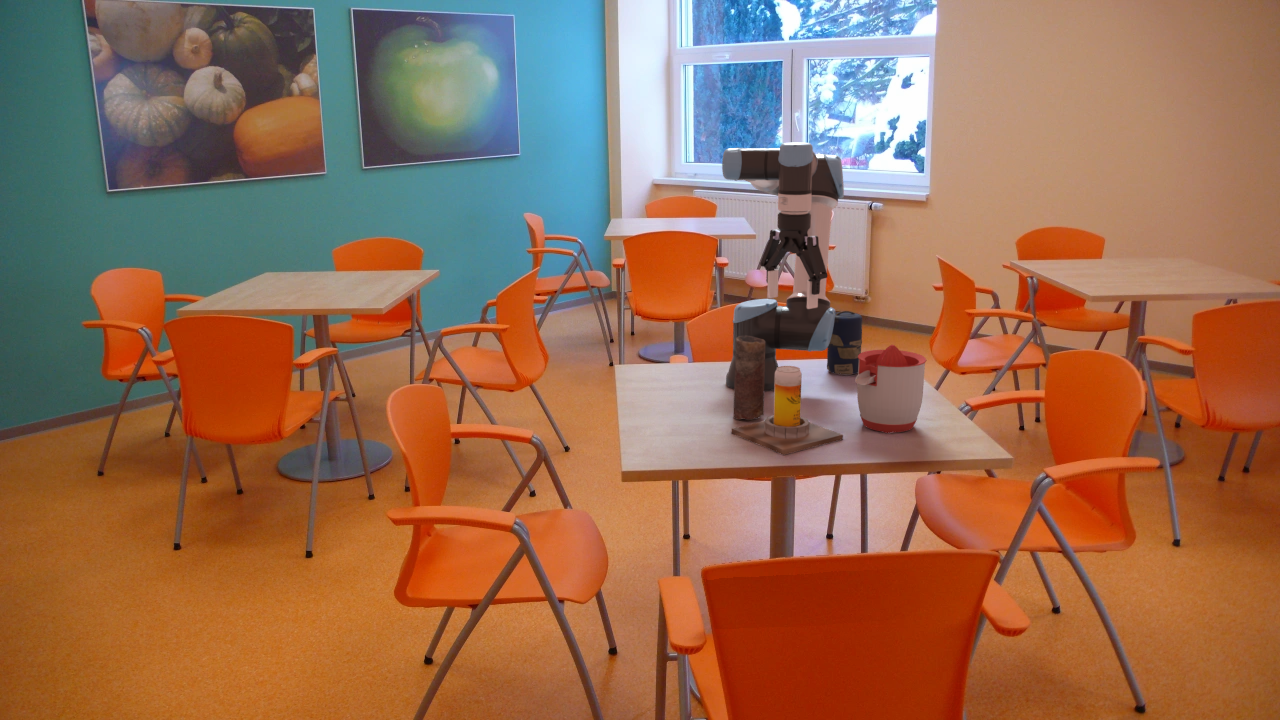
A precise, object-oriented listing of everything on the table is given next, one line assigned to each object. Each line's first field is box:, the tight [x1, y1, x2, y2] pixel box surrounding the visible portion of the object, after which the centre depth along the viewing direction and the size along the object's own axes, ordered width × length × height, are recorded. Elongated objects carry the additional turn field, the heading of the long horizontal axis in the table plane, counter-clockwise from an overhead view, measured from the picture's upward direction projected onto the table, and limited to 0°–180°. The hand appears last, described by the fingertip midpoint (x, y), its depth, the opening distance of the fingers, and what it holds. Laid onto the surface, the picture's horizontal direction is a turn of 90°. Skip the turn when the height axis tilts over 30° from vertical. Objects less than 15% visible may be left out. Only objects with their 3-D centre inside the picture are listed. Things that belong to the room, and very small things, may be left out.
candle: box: [733, 336, 765, 421], centre depth 240 cm, size 8×7×20 cm
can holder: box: [731, 415, 844, 456], centre depth 228 cm, size 18×18×4 cm
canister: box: [826, 310, 863, 376], centre depth 280 cm, size 10×10×18 cm
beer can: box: [773, 365, 803, 427], centre depth 226 cm, size 6×6×15 cm
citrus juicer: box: [854, 344, 927, 434], centre depth 232 cm, size 16×17×20 cm
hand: (791, 302), depth 232 cm, fingers open, 13 cm apart
